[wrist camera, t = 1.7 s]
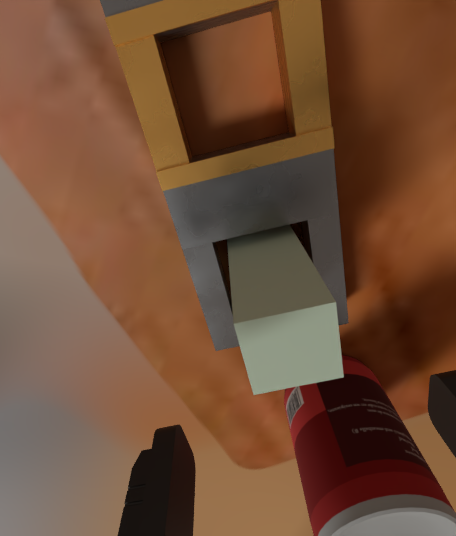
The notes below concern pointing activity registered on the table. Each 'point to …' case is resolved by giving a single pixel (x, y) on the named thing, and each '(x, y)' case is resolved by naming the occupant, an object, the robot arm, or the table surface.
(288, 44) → the grey yellow flat board
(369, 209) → the table surface
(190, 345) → the table surface
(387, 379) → the table surface
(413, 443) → the canned food
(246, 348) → the sage block
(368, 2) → the table surface
